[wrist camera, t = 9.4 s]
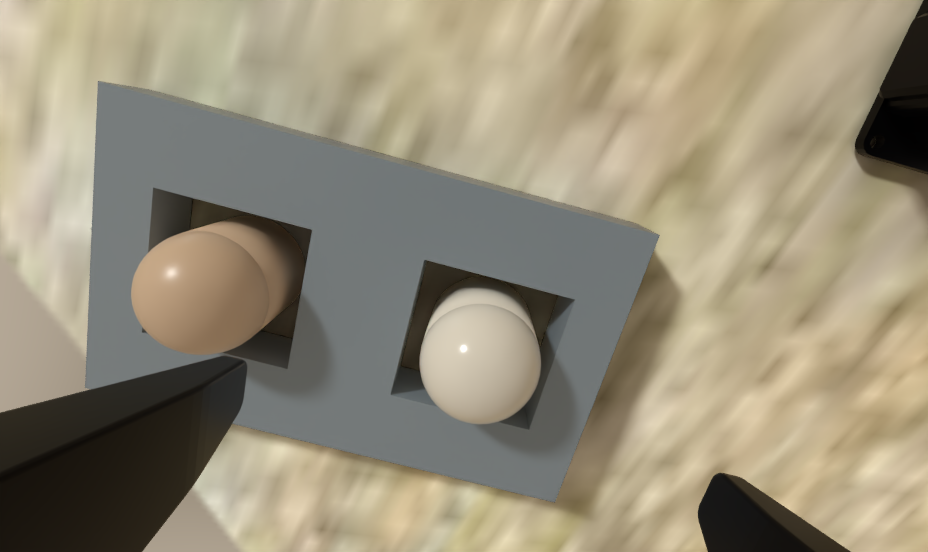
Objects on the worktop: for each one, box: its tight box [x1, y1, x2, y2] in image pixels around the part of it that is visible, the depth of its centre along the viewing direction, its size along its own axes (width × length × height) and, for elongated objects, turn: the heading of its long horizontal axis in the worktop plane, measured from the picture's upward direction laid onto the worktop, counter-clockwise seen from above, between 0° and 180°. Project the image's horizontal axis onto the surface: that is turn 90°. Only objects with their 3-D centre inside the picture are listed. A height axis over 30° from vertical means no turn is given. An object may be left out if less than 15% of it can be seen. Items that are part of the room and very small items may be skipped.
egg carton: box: [85, 81, 660, 502], centre depth 17 cm, size 20×12×6 cm, turn 75°
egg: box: [419, 277, 541, 424], centre depth 18 cm, size 4×4×6 cm
